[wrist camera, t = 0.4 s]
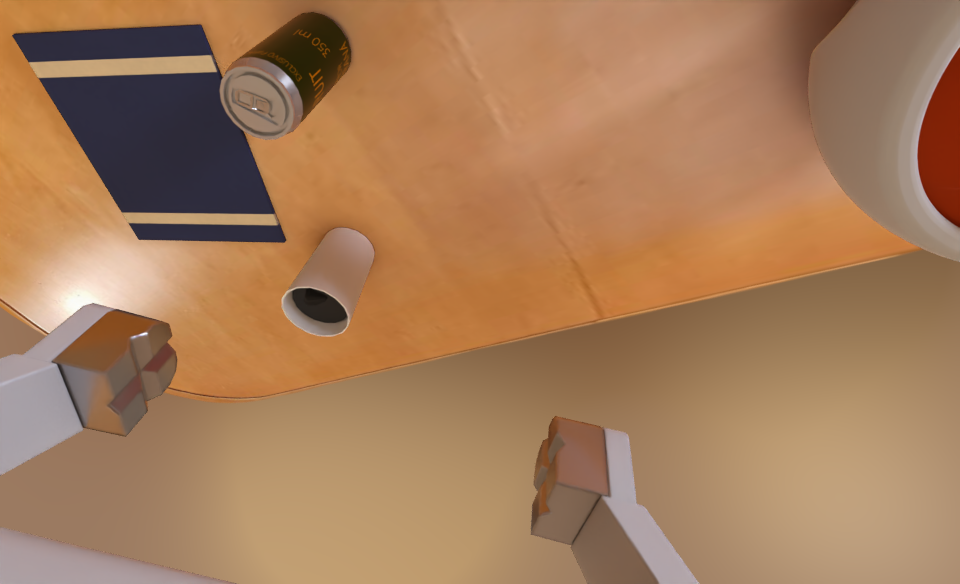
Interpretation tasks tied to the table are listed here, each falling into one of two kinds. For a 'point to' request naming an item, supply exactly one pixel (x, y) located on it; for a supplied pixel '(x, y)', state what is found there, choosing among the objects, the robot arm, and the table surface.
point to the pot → (894, 116)
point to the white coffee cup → (330, 283)
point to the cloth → (157, 130)
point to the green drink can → (285, 76)
